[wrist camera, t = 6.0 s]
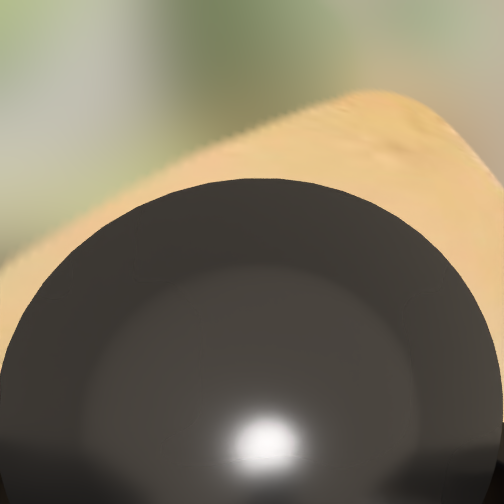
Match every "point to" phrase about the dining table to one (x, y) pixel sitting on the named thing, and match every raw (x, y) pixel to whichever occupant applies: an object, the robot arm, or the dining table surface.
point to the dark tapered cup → (251, 360)
